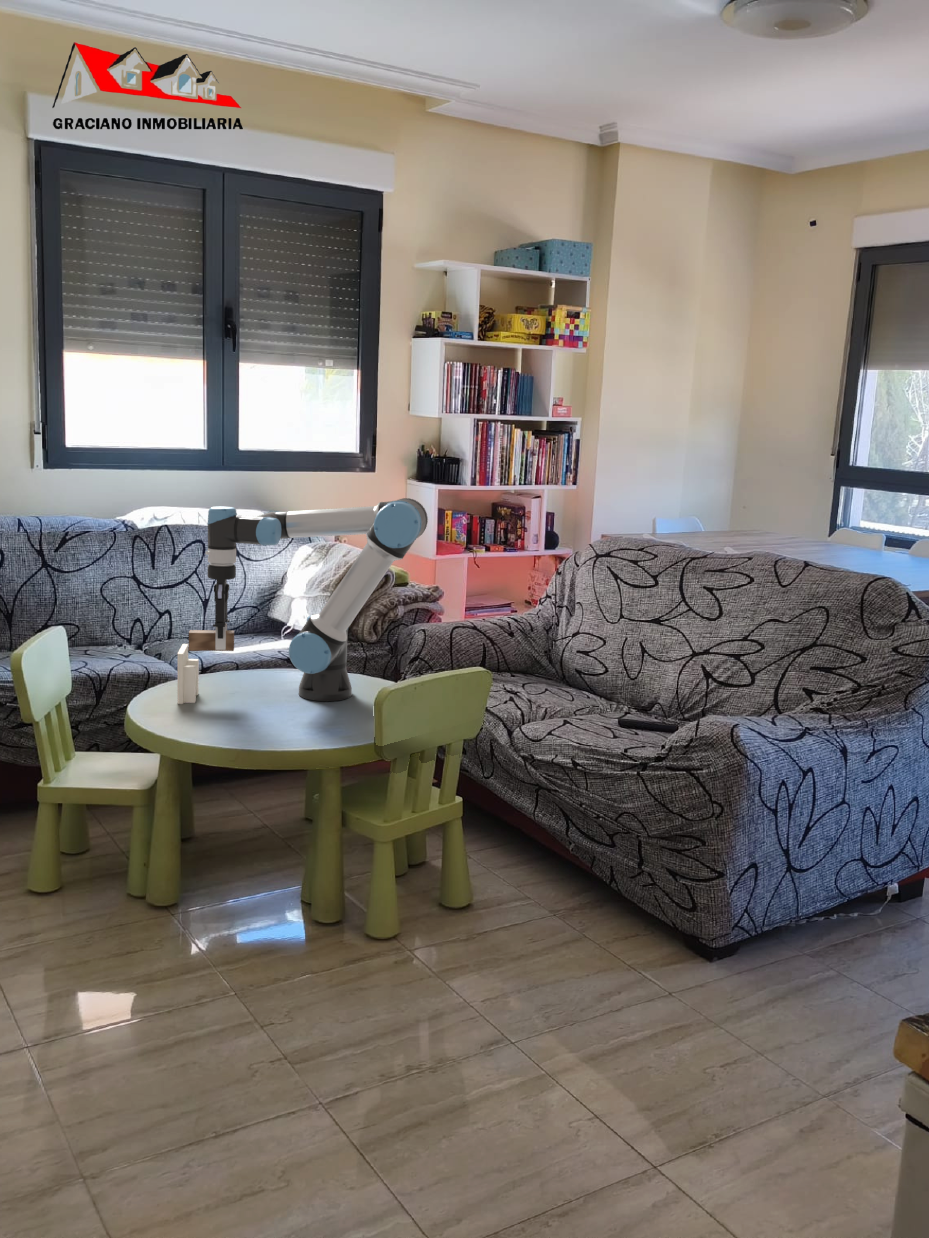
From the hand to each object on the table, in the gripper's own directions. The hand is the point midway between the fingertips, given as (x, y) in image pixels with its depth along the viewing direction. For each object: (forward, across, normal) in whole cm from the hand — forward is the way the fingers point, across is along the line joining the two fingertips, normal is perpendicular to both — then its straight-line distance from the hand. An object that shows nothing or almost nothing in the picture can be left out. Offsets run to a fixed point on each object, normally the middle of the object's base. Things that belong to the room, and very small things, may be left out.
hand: (221, 647), depth 301 cm
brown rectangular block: (0, 0, -3) cm, 3 cm away
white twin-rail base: (+14, 0, -8) cm, 17 cm away
